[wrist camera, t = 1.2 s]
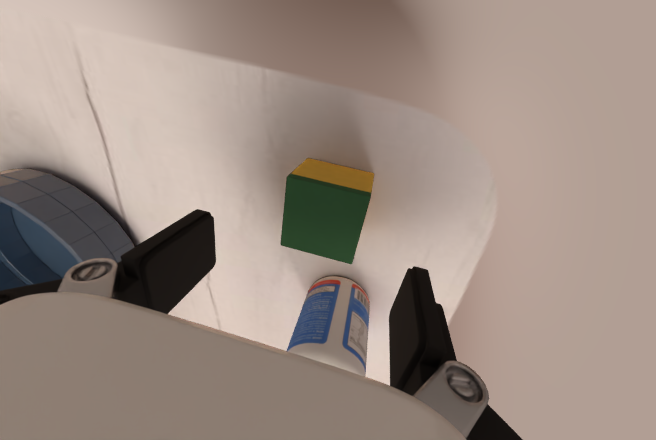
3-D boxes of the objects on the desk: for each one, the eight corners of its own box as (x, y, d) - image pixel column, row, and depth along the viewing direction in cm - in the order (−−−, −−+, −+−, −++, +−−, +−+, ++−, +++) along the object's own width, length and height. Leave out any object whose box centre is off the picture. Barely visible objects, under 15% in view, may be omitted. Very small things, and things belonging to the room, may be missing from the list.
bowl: (-29, 148, 23) (-114, 161, 19) (131, 190, 21) (73, 214, 17) (42, 280, 31) (-8, 308, 27) (161, 318, 29) (127, 354, 25)
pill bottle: (304, 309, 23) (257, 434, 15) (315, 266, 21) (265, 388, 12) (360, 328, 23) (345, 467, 15) (379, 286, 20) (373, 427, 12)
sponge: (307, 157, 17) (286, 176, 13) (374, 173, 16) (370, 196, 13) (299, 216, 19) (280, 245, 15) (358, 231, 18) (351, 264, 15)
